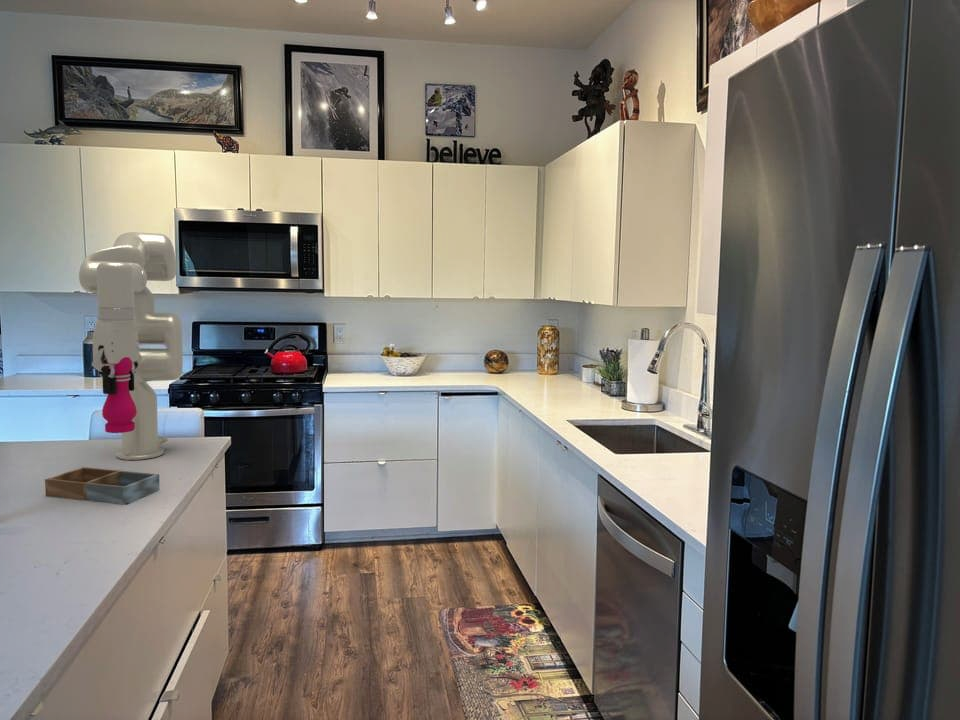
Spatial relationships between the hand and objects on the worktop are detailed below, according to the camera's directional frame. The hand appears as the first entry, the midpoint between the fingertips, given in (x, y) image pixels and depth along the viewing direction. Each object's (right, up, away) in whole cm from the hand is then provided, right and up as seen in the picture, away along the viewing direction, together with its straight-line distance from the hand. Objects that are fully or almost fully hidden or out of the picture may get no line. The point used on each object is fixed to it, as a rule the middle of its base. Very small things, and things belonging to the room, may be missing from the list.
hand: (118, 391), depth 158 cm
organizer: (-6, -25, +4) cm, 26 cm away
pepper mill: (0, -10, +1) cm, 10 cm away
